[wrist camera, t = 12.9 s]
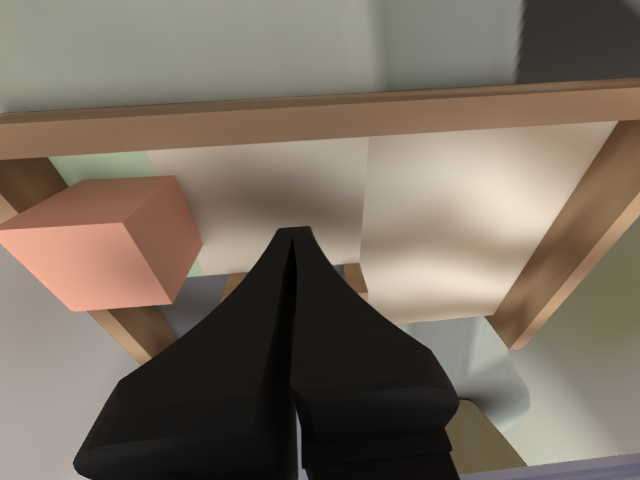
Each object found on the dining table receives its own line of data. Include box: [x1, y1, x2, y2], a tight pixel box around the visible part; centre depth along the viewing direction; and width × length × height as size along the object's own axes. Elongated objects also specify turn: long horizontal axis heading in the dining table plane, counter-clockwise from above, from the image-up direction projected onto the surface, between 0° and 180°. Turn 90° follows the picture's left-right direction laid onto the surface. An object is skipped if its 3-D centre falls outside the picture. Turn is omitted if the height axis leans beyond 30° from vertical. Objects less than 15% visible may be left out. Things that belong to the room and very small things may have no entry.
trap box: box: [0, 77, 640, 366], centre depth 14 cm, size 17×27×3 cm, turn 92°
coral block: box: [0, 175, 203, 312], centre depth 10 cm, size 4×4×4 cm
